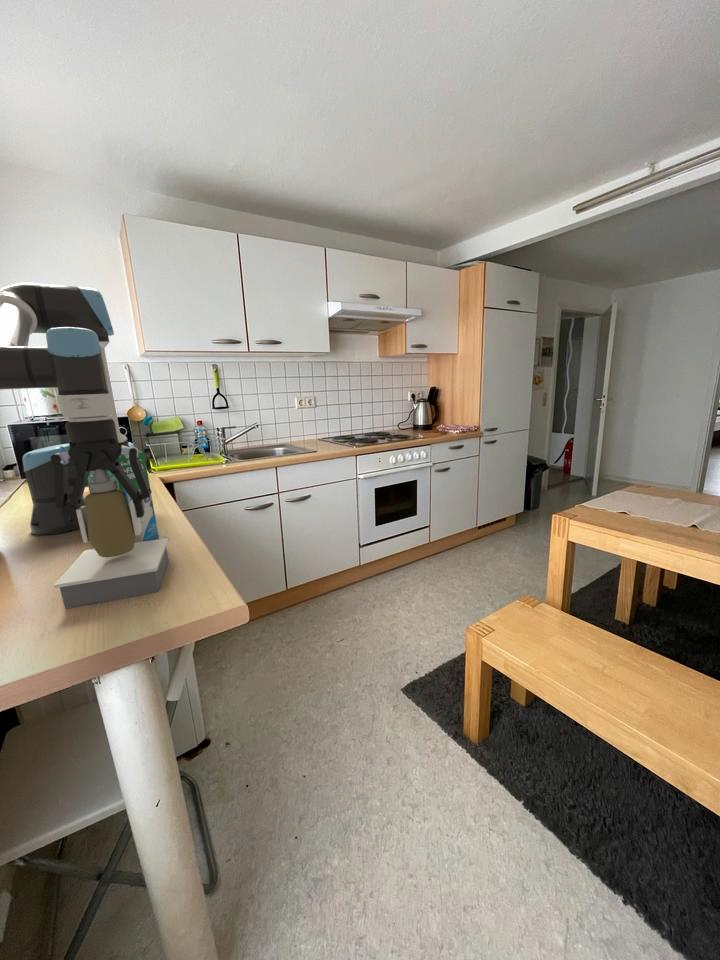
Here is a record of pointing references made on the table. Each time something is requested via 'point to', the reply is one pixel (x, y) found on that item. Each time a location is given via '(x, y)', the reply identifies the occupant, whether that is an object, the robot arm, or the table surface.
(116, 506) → the squeeze bottle
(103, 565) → the display podium
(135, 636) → the table surface
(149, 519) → the milk carton
